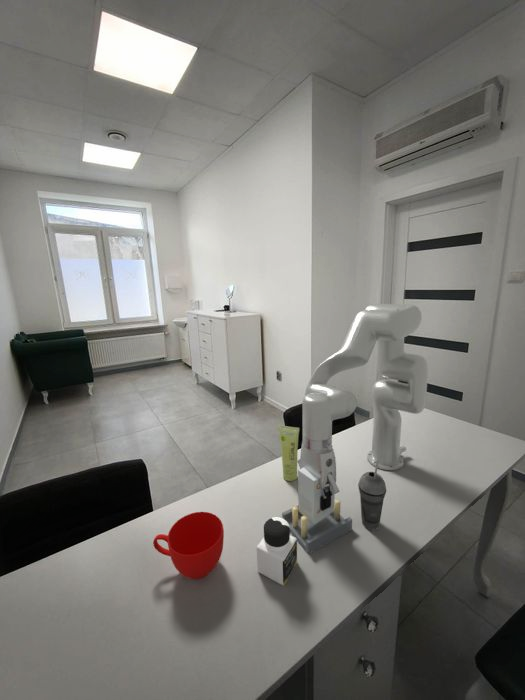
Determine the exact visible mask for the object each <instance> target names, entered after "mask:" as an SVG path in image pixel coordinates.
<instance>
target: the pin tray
mask: <svg viewBox="0 0 525 700" xmlns="http://www.w3.org/2000/svg"><path fill="white" fill-rule="evenodd" d="M281 518H283V519H284V520H286V521H287V522H288V524H289V527H290V535H291V536H293V537H295V538H296V539H297V543H299V544H300V546H301V547H302V548H303V549H304V550H305V553H307V554H308V555H310V554H311V553H313V552H314V551H317V550H319V549H320V548H321V547H323V546H325V545H327V544H329V543H330V542H332V541H334V540H336V539H337V538H340V537H341V536H343V535H345V534H347V533H348V532H350V531H351V530H353V519H352V518H351V517H350V516H349V517H347V518H344V516H342V515H341V500H339V499H334V511H333V512H332V513H330V514H329V515H327V516H326V517H325V518H323V519H322V520H320V521H319V522H318V523H316V524H313V523H312V522H311V521H310V520H308V519H307V517H306V516H304V515H302V514H301V513H300V512H299V504H298V505H296V506H293V507H292V508H289V509H287V510H285V511H283V512H282V513H281Z"/></svg>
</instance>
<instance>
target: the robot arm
mask: <svg viewBox="0 0 525 700" xmlns="http://www.w3.org/2000/svg"><path fill="white" fill-rule="evenodd" d="M421 322H422V312H421V310H420V308H419V307H418V306H417V305H416V304H403V303H402V304H399V303H398V304H397V303H396V304H395V303H376V304H370V305H368V306H366V307H365V308H364V310H361V311H359V312H358V313H357V314H355V316H354V318H353V321H352V323H351V325H350V326H349V329H348V330H347V333H346V335H345V338H344V340H343V341H342V343H341V346H340V348H339V350H338V351H337V352H334V353H333V354H332V355H330V356H328V358H326V359H324V361H322V362H321V363H319V365H318V366H317V367H316V368H315V370H313V373H312V374H311V377H310V379H309V381H308V383H307V386H306V388H305V392H304V397H303V398H302V441H301V448H300V457H299V458H300V459H297V465H298V467H299V469H301V468H303V467H304V468H305V469H307V470H308V471H309V472H310V473H312V474H313V475H314V476H315V477H317V478H318V479H319V487H321V493H322V496H321V497H320V509H321V510H322V511H323V510H325V509H327V508H330V507H331V496H332V495H334V494H335V495H336V494H338V493H340V489H339V486H338V485H337V464H336V462H337V461H336V455H335V450H334V448H333V445H332V443H333V440H332V439H333V434H332V433H333V421H335V420H338V419H344V418H347V417H349V416H351V415H352V414H353V413H354V412H355V410H356V408H357V404H358V399H357V396H356V394H354V392H352V391H350V390H348V389H345V388H343V387H342V388H341V387H337V386H333V385H330V384H327V383H328V382H329V380H330V379H331V378H332V377H334V376H335V375H337V374H339V373H341V372H344V371H347V370H352V369H355V368H359V367H363V366H365V365H366V364H368V362H369V361H370V357H371V355H372V353H373V350H374V348H375V346H377V347H376V348H377V349H376V350H377V351H376V353H377V354H376V355H377V356H376V368H377V373H378V375H379V376H381V377H383V378H387V379H379V380H377V381H376V382H375V383H374V384H373V385H372V388H371V398H372V405H373V420H372V421H373V423H372V424H373V425H372V443H371V451H369V452H368V453H367V462H369V463H370V464H371V465H372V466H374V467H375V468H376V463H377V461H379V463H378V469H380V470H385V471H396V470H399V469H401V468H402V467H403V466H404V459H403V457H401V454H402V453H404V452H406V451H407V447H406V446H404V445H403V446H401V437H402V416H401V413H400V411H402V412H404V413H408V414H409V413H410V414H415V415H416V414H417V415H418V414H420V413H422V412H423V411H424V409H425V407H426V403H427V402H426V401H427V390H428V375H429V374H428V373H429V367H428V362H427V360H426V358H425V357H424V356H422V355H419V354H415V353H413V354H412V353H407V352H405V338H406V337H408V336H410V335H411V334H413V333H415V332H416V331H417V329H418V328H419V327H420V325H421ZM376 343H377V344H376ZM391 379H392V380H391ZM395 380H396V381H395ZM401 381H402V382H401ZM325 487H327V488H328V492H325Z"/></svg>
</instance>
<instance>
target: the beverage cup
mask: <svg viewBox="0 0 525 700" xmlns="http://www.w3.org/2000/svg"><path fill="white" fill-rule="evenodd" d="M378 463H379V461H377V463H376V467H375V469H374V471H367V472H364V473H363V474H362V475H361V476H360V478H359V480H358V481H359V482H358V484H357V487H358V491H359V492H358V493H359V496H360V497H359V498H360V499H359V500H360V514H361V515H360V517H361V523H362V525H363V527H364V528H365V529H368V530H371V531H372V530H373V531H375V530H378V528H379V527H380V522H381V517H382V512H383V511H382V510H383V505H384V499H385V496H386V494H387V486H386V481H385V480H384V478H383V477H382V476H381V474H379V473H378V469H379V468H378Z"/></svg>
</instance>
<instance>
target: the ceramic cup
mask: <svg viewBox="0 0 525 700" xmlns="http://www.w3.org/2000/svg"><path fill="white" fill-rule="evenodd" d="M170 527H171V528H170V530H169V531H168V533H167V534H161V533H160V534H157V535H156V536H155V537H154V538H153V542H152V543H153V547H154V549H155V550H156V552H158V553H160V554H161V555H164V556H167V557H170V560H171V561H172V564H173V566H174V568H175V569H176V571H178V573H179V574H180V575H181V576H183V577H184V578H187V579H191V580H201V579H204V578H205V577H206V576H208V575H209V574H210V573H211V572H212V571H213V570H214V569H215V568H216V566H217V565H218V563H219V561H220V560H221V557H222V554H223V549H224V539H225V538H224V537H225V536H224V535H225V534H224V532H225V531H224V524H223V522H222V520H221V519H220V518H219V516H218V515H216V514H213V513H211V512H207V511H196V512H192V513H188V514H186V515H184V516H182V517H181V518H179V519H178V520H176V521H175V523H174V524H173V525H172V526H170ZM158 540H162V541H165V542H166V543H167V546H168V549H167V548H165V547H163V546H161V545H160V544H159V543H158Z"/></svg>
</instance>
